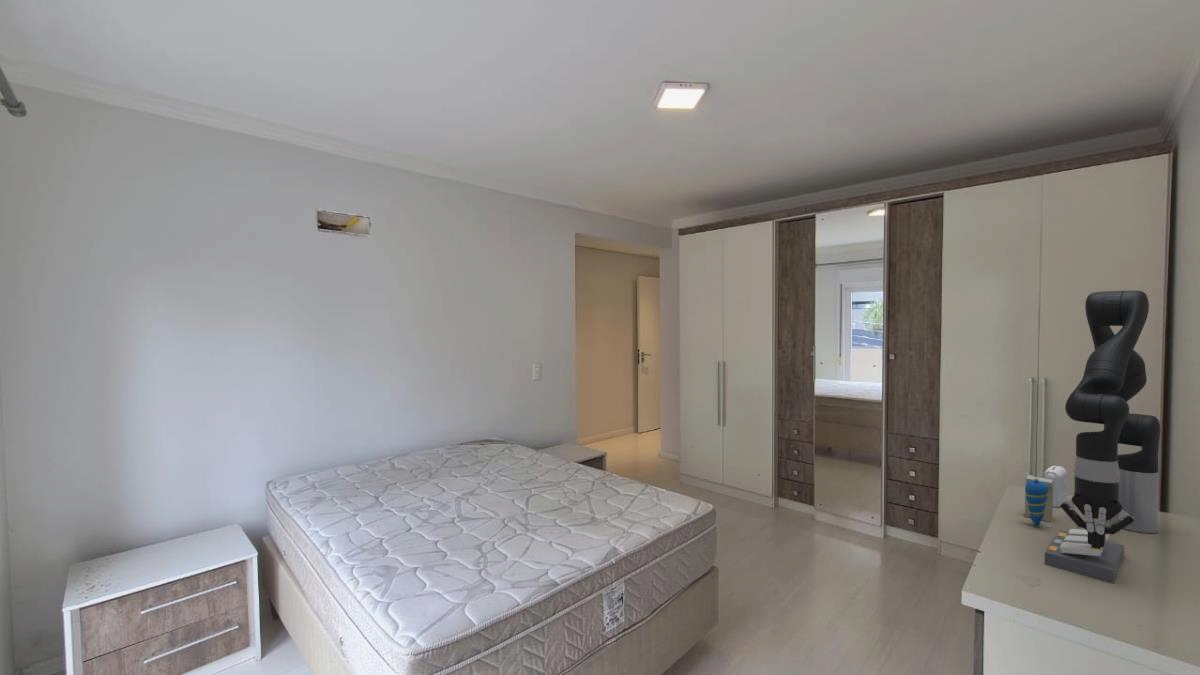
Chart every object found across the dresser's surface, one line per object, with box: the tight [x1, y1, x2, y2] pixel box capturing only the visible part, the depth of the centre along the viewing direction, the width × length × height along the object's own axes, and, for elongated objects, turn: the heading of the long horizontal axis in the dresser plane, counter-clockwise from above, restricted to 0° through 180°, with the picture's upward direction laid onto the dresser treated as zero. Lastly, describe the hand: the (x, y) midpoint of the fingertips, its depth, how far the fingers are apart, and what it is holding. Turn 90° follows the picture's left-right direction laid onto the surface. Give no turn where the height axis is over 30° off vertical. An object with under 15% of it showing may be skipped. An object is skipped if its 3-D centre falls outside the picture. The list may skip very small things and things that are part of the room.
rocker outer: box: [1060, 542, 1103, 556], centre depth 119 cm, size 4×7×2 cm, turn 38°
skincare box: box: [1024, 475, 1054, 523], centre depth 149 cm, size 6×4×12 cm
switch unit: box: [1044, 529, 1125, 584], centre depth 123 cm, size 20×12×4 cm, turn 128°
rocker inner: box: [1068, 528, 1110, 541], centre depth 126 cm, size 4×7×2 cm, turn 38°
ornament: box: [1024, 476, 1049, 528], centre depth 142 cm, size 5×5×15 cm
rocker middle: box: [1064, 535, 1106, 548], centre depth 122 cm, size 4×7×2 cm, turn 38°
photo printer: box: [1043, 465, 1068, 508], centre depth 160 cm, size 10×4×12 cm, turn 123°
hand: (1096, 547), depth 117 cm, fingers closed
